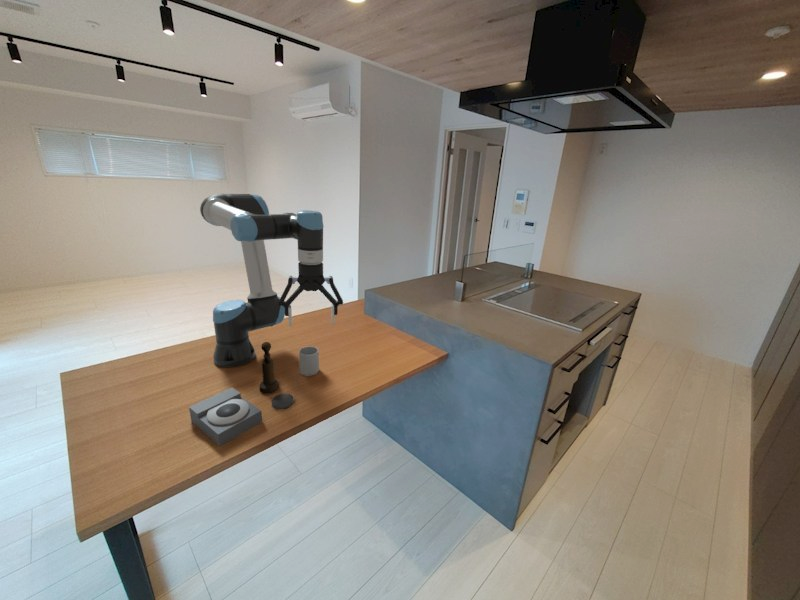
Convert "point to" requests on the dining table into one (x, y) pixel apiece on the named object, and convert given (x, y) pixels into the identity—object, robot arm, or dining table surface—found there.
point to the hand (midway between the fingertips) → (311, 324)
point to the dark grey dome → (282, 401)
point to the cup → (309, 360)
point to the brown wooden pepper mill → (268, 372)
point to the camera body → (225, 416)
